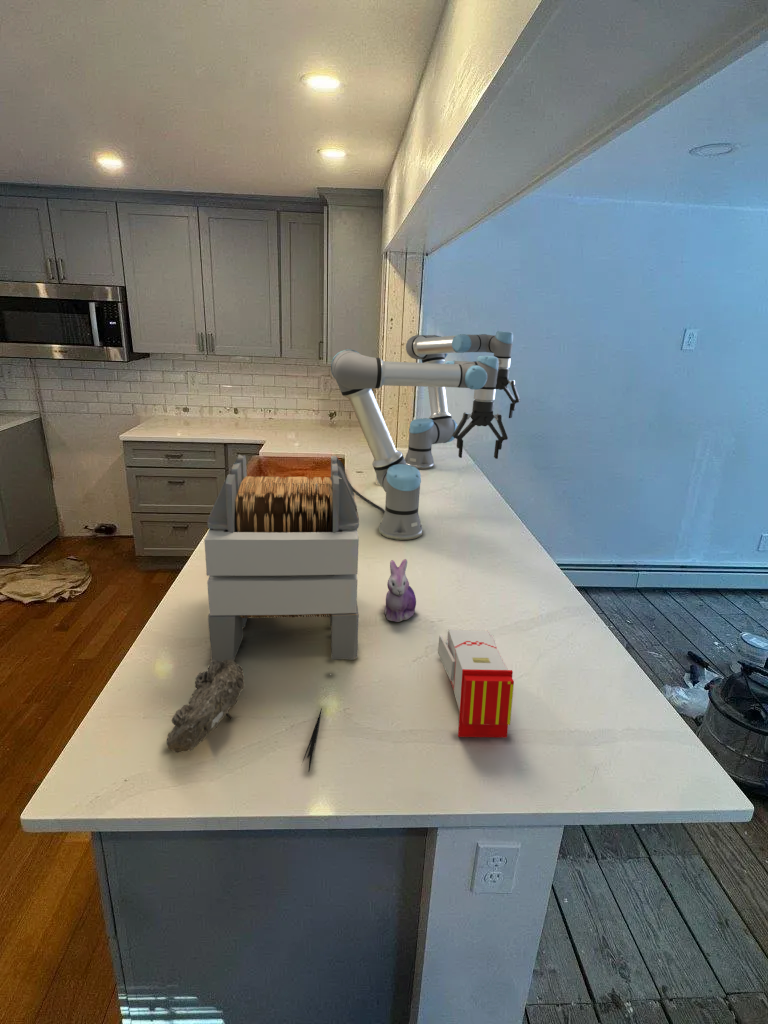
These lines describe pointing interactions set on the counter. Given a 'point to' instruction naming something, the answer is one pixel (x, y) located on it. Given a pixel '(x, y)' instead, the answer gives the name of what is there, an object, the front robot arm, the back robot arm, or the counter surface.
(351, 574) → the record crate
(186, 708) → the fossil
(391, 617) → the figurine
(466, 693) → the toy
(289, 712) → the counter surface
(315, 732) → the feather
